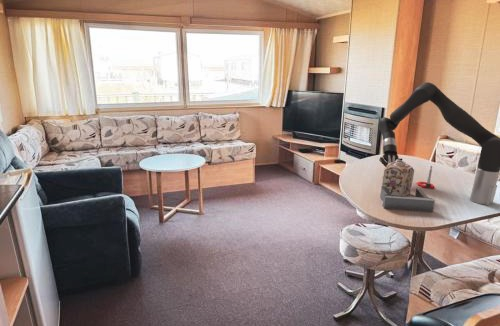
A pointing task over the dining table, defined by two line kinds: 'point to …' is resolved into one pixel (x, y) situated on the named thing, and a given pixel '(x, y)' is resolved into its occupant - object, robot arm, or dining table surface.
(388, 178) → the decorative jar
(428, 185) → the tow hook
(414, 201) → the grey tray
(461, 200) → the dining table surface
